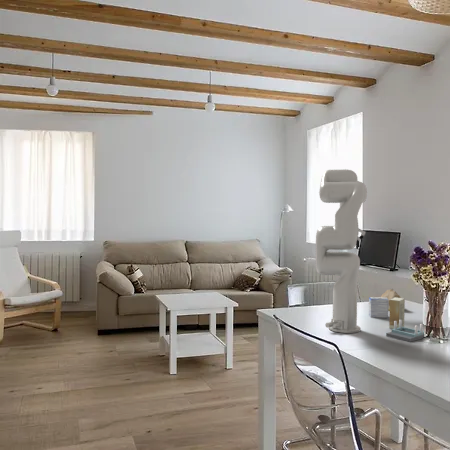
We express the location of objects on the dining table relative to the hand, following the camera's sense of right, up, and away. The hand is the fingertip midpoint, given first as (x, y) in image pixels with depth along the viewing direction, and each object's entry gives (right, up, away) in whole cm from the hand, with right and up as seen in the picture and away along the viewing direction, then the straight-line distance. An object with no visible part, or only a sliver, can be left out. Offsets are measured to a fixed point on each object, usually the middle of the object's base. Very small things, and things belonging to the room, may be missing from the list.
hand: (347, 248), depth 233 cm
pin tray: (+11, -32, -48) cm, 59 cm away
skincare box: (+12, -31, -36) cm, 49 cm away
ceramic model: (+23, -30, +4) cm, 38 cm away
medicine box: (+11, -31, -15) cm, 36 cm away
